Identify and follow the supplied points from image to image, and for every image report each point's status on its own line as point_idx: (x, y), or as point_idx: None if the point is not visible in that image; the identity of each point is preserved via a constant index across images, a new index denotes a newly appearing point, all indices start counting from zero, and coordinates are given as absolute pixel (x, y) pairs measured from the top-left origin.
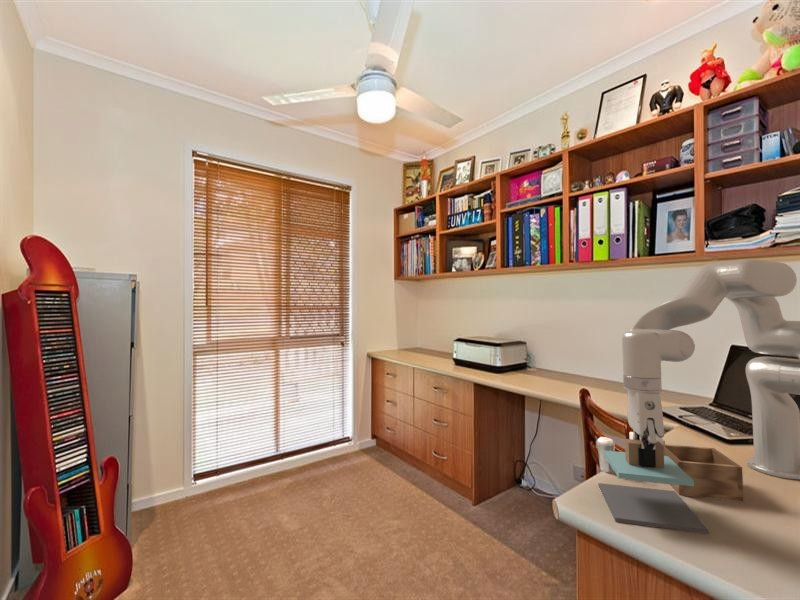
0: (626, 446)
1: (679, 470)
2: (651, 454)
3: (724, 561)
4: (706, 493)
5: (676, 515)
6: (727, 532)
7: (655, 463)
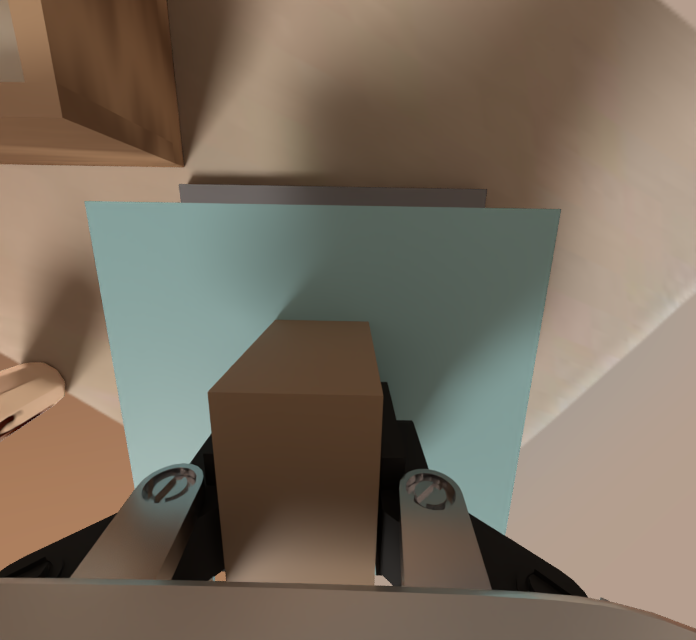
0: None
1: (389, 233)
2: (424, 468)
3: (633, 221)
4: (160, 38)
5: None
6: (461, 116)
7: (389, 391)
